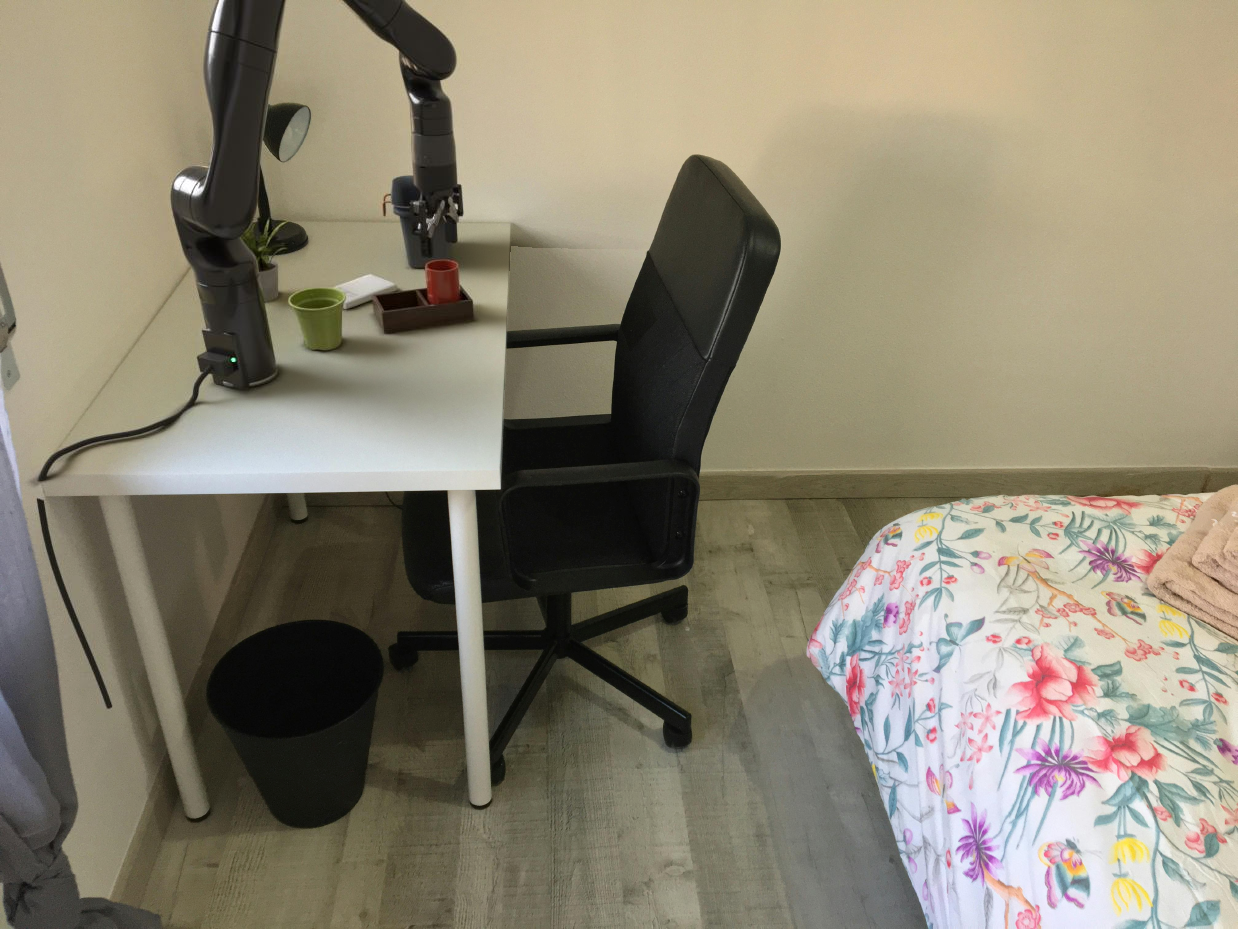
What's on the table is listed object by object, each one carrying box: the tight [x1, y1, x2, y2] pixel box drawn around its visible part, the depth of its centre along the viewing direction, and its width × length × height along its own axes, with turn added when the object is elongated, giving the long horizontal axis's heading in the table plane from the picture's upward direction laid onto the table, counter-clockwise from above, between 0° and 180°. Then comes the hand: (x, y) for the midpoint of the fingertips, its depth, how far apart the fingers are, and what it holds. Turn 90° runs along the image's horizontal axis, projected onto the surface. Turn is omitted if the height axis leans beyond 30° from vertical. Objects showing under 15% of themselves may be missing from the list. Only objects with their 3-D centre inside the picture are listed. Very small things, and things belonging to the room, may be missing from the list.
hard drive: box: [332, 273, 398, 310], centre depth 178 cm, size 2×8×12 cm
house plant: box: [241, 218, 289, 302], centre depth 171 cm, size 14×14×16 cm
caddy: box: [371, 284, 475, 334], centre depth 169 cm, size 9×17×4 cm, turn 115°
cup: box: [424, 259, 461, 305], centre depth 169 cm, size 6×6×9 cm
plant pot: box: [288, 286, 346, 351], centre depth 157 cm, size 9×9×9 cm
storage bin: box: [381, 174, 456, 269], centre depth 194 cm, size 21×16×14 cm
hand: (439, 249), depth 165 cm, fingers open, 8 cm apart
